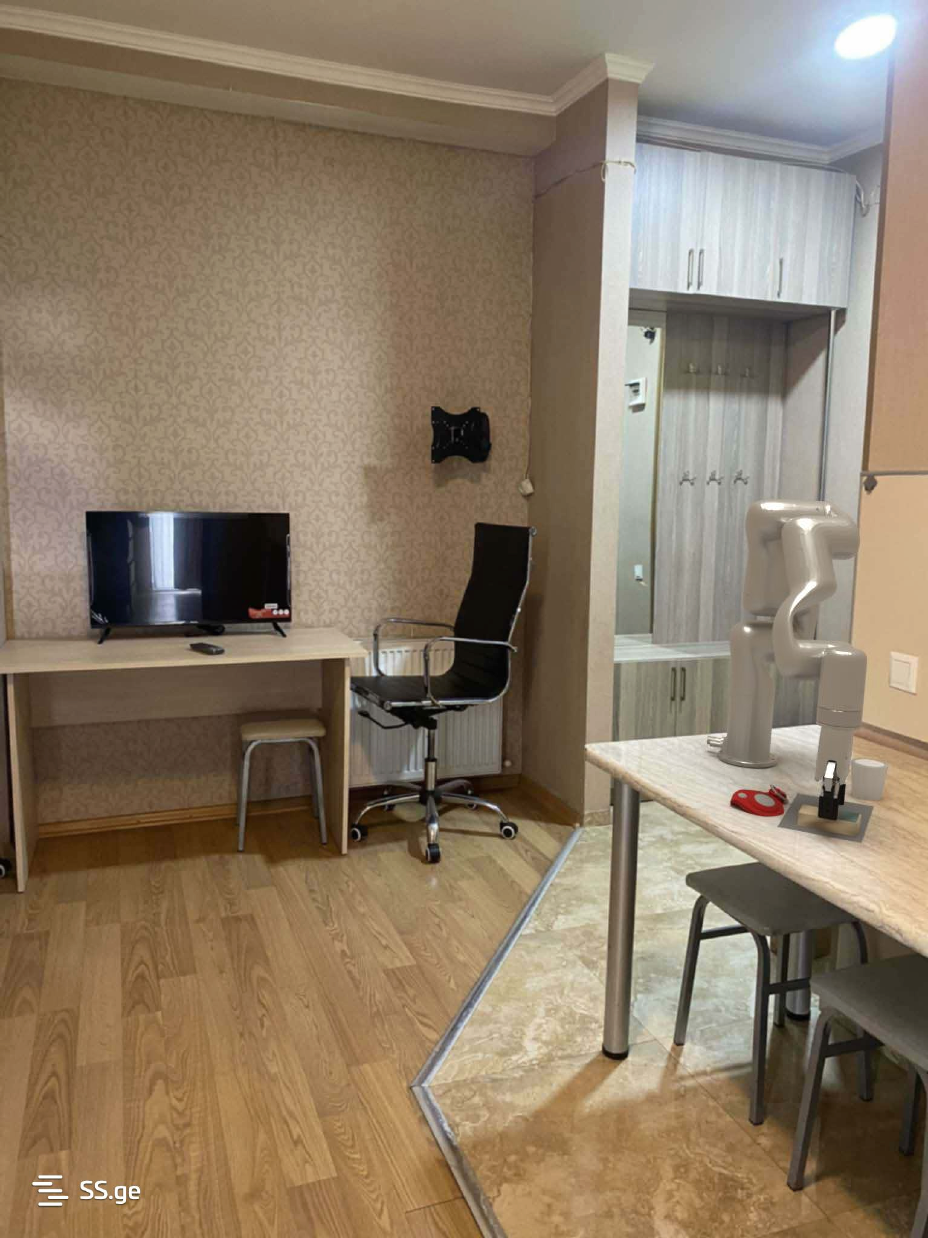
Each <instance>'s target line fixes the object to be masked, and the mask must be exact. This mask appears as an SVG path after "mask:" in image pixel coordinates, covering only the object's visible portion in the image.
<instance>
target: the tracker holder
mask: <svg viewBox="0 0 928 1238" xmlns="http://www.w3.org/2000/svg"><path fill="white" fill-rule="evenodd" d="M769 787H770V788H769V789H768V791H766V792H765V791H761V790H755V789H745V788H742V789H738V790H736V791H735V792H734V793H733V794H732V796H731V799H730V802H729V804H730V805H731V806H735V805H737V806H739V807H740V808H741V809H742V810H744V811H745V812H746V813H749V815H754V816H758V817H765V818H766V817H768V818H771V817H773V818H774V817H778V816H779V817H780V816H782V815H783V814H785V813H784V812H785V807H784V805H783V804H784V803H785V802H786V803H788V802H789V798H787V796H788V794H787V793H786V792H785V791H783V790H781V789H780V788H777V787H776V786H774V785H773V784H770V785H769Z"/></svg>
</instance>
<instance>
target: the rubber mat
mask: <svg viewBox="0 0 928 1238" xmlns="http://www.w3.org/2000/svg"><path fill="white" fill-rule="evenodd" d="M802 805H809V806H815V807H818V806H819V796H815V795H810V794H804V793H796V795H795V797H794V798H793V800H792V802H791V803H790V805H789V806H788V808H787V810H786V811H785V813H784V815H783V816H782V818H781V820H780V822H779V823H778V825H777V828H782V829H788V830H792V831H797V832H802V833H803V832H804V833H808V834H815V835H818V836H819V835H820V836H823V837H828V838H834V839H839V840H846V841H850V842H856V843H861V844H862V843H863V840H864V836H865V834H866V830H867V828H868V824H869V821H870V819H871V816H872V813H873V810H874V806H873V805H868V804H862V803H858V802H857V803H856V802H850V801H844V805H842V806H841V805H839V807H838V811H848V812H853V813H859V814H860V815H861V823H860V829H859V832H858V835H857V837H855V836H850V835H845V834H839V833H834V832H829V831H823V830H818V829H813V828H807V827H802V826H797V823H798V812H799V810H800V809H801V807H802Z"/></svg>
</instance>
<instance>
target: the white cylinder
mask: <svg viewBox="0 0 928 1238" xmlns="http://www.w3.org/2000/svg"><path fill="white" fill-rule="evenodd" d="M850 767H851V769H850V770H851V771H850V773H851V775H850V776H851V777H850V778H851V779H850V780H851V783H850V785H851V792H850V793H851V796H852V797H853V798H856V799H858V800H862V801H867V802H868V801H869V802H877V801H881V800H882V799H883V793H884V788H885V782H886V779H887V775H888V767H889V765H888V763H886V762H885V761H881V760H879V759H874V758H873V759H872V758H865V757H864V758H863V757H862V758H860V757H858V758H853V759H851V763H850Z"/></svg>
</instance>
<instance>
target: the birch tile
mask: <svg viewBox="0 0 928 1238" xmlns="http://www.w3.org/2000/svg"><path fill="white" fill-rule="evenodd" d="M860 823H861V815H860V814H859V813H853V812H848V811H838V818H837V820H836V821H834V820H828V819H823V818H819V817H818V807H815V806H809V805H802V807H801V809H800V810H799V812H798V823H797V826H802V827H807V828H813V829H818V830H823V831H829V832H834V833H839V834H845V835H850V836H855V837H857V835H858V832H859V829H860Z"/></svg>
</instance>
